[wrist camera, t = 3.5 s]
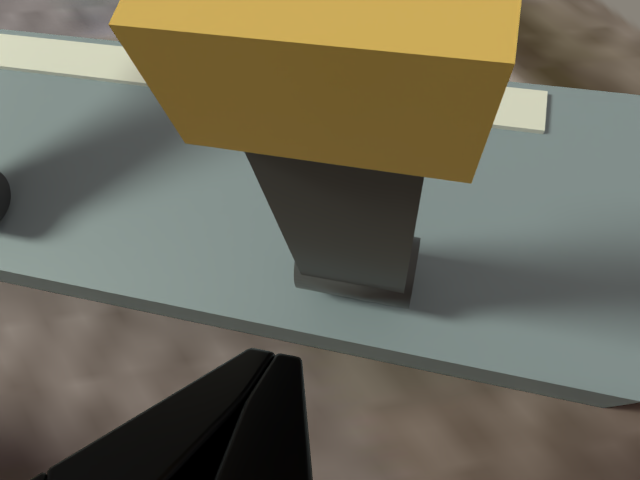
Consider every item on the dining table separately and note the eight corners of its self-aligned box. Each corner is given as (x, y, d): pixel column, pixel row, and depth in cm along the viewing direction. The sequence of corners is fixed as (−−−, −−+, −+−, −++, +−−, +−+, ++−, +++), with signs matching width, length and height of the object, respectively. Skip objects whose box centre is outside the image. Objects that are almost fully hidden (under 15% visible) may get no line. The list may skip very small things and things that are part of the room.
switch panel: (603, 407, 15) (646, 401, 13) (-164, 246, 21) (-237, 220, 18) (608, 137, 19) (644, 91, 16) (-50, 59, 24) (-99, 15, 22)
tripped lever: (419, 325, 14) (514, 63, 4) (286, 299, 15) (108, 24, 5) (431, 248, 15) (532, -118, 5) (304, 227, 16) (181, -130, 6)
